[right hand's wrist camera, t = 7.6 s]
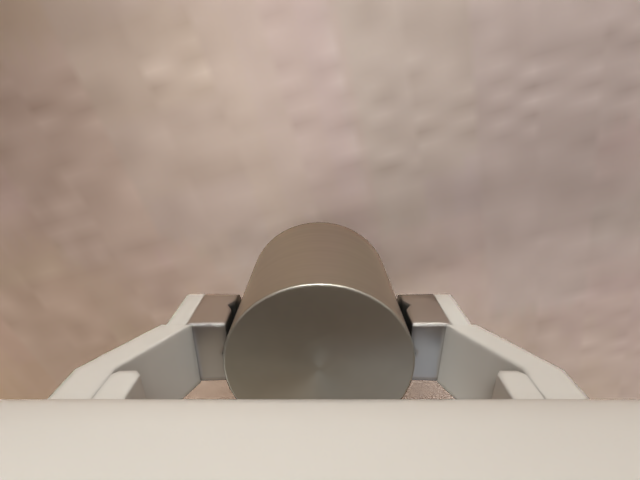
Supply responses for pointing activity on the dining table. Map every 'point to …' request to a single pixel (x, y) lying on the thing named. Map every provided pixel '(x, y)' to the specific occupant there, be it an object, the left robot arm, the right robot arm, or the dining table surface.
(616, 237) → the dining table surface
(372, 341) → the canister
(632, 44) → the dining table surface
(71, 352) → the dining table surface
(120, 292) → the dining table surface
